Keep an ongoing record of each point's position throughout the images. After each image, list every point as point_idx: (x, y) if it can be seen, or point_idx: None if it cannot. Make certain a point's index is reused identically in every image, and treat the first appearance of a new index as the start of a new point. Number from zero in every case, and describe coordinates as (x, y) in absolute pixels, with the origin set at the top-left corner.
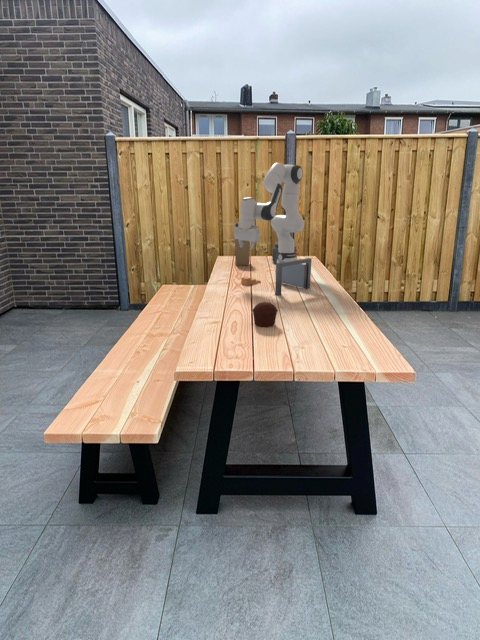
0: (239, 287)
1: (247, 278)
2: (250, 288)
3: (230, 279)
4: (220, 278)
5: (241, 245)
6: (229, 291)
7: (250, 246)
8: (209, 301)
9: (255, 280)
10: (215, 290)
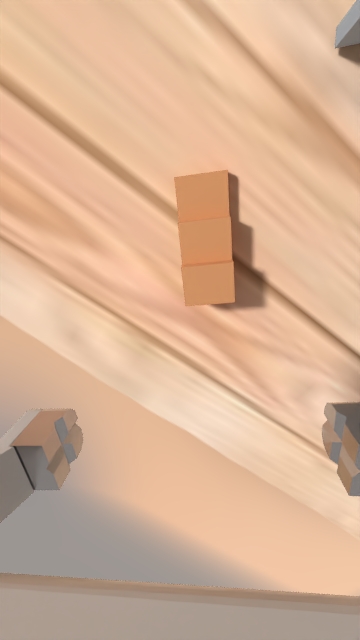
0: (249, 346)
1: (229, 291)
2: (302, 318)
3: (71, 281)
4: (30, 309)
5: (69, 466)
6: (278, 414)
7: (358, 484)
8: (337, 517)
9: (230, 222)
10: (227, 440)
